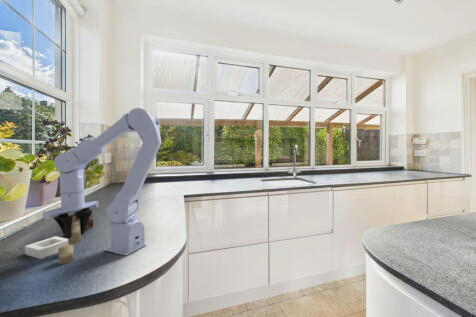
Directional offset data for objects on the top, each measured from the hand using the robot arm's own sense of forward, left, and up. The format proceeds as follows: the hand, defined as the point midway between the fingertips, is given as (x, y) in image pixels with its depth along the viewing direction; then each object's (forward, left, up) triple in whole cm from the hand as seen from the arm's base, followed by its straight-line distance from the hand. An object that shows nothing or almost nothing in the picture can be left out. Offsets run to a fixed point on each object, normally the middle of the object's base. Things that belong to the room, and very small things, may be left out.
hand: (74, 235), depth 66 cm
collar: (+8, +3, -5) cm, 9 cm away
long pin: (0, 0, -2) cm, 2 cm away
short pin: (-5, +5, -5) cm, 8 cm away
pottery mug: (+15, -11, -5) cm, 20 cm away
